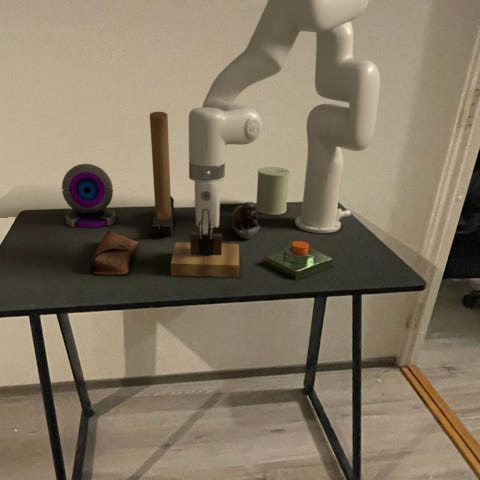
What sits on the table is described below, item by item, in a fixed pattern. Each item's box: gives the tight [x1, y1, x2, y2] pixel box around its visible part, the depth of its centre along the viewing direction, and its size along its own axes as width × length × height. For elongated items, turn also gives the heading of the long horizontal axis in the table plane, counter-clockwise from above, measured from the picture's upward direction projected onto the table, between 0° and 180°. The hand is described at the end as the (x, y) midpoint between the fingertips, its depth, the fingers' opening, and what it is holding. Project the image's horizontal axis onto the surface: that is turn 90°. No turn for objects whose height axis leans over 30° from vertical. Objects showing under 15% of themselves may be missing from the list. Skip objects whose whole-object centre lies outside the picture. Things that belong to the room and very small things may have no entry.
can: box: [255, 166, 290, 216], centre depth 156 cm, size 9×9×12 cm
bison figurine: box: [232, 201, 261, 240], centre depth 138 cm, size 12×7×10 cm, turn 12°
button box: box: [264, 244, 333, 280], centre depth 124 cm, size 12×10×4 cm
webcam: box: [61, 163, 116, 229], centre depth 142 cm, size 13×13×15 cm
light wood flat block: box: [170, 241, 240, 278], centre depth 123 cm, size 15×12×3 cm
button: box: [291, 240, 310, 254], centre depth 123 cm, size 4×4×2 cm
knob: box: [189, 231, 223, 255], centre depth 121 cm, size 7×2×5 cm, turn 91°
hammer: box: [149, 111, 175, 236], centre depth 134 cm, size 20×5×30 cm, turn 3°
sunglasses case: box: [89, 229, 140, 276], centre depth 124 cm, size 18×7×7 cm
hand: (206, 251), depth 122 cm, fingers closed on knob, 2 cm apart
